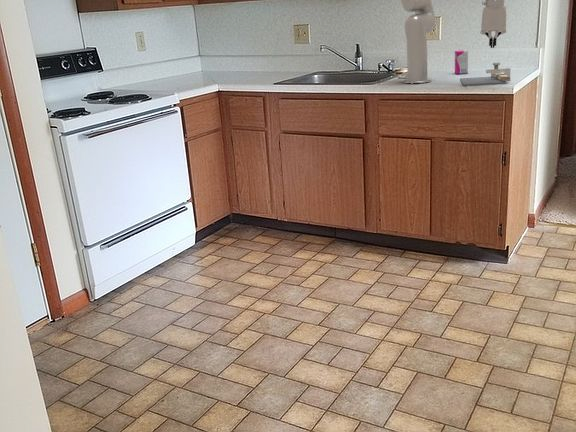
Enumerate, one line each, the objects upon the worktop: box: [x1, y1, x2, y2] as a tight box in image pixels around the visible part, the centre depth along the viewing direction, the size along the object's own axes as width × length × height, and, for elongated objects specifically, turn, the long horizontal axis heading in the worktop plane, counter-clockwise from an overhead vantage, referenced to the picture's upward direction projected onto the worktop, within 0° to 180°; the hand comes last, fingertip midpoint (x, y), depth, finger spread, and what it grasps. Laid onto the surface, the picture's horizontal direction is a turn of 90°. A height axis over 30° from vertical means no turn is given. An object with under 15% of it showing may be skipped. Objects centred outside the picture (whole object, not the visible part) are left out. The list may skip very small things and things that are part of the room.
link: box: [490, 62, 511, 82], centre depth 281 cm, size 18×4×6 cm, turn 178°
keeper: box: [485, 67, 511, 77], centre depth 282 cm, size 10×2×5 cm, turn 79°
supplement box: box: [454, 49, 469, 76], centre depth 314 cm, size 6×6×12 cm
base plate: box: [459, 76, 507, 87], centre depth 284 cm, size 18×20×1 cm
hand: (492, 47), depth 271 cm, fingers closed
